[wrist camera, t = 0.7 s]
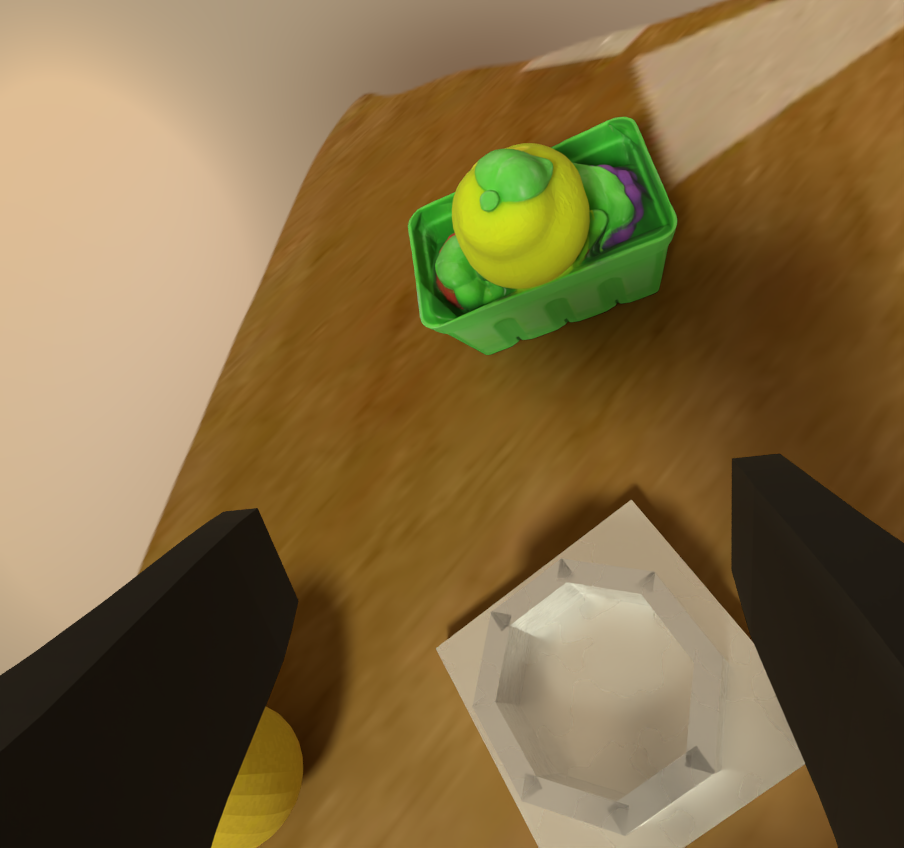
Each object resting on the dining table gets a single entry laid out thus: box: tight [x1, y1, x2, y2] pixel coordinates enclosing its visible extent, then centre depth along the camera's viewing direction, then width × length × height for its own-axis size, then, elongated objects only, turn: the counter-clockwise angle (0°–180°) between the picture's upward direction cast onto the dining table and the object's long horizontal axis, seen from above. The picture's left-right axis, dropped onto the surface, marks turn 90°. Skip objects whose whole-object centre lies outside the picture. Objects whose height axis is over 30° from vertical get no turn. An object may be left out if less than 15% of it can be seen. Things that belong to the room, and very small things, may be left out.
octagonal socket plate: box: [436, 500, 805, 848], centre depth 22 cm, size 10×10×4 cm
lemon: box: [211, 706, 303, 848], centre depth 25 cm, size 6×6×8 cm
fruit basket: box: [408, 117, 677, 355], centre depth 27 cm, size 11×9×11 cm
